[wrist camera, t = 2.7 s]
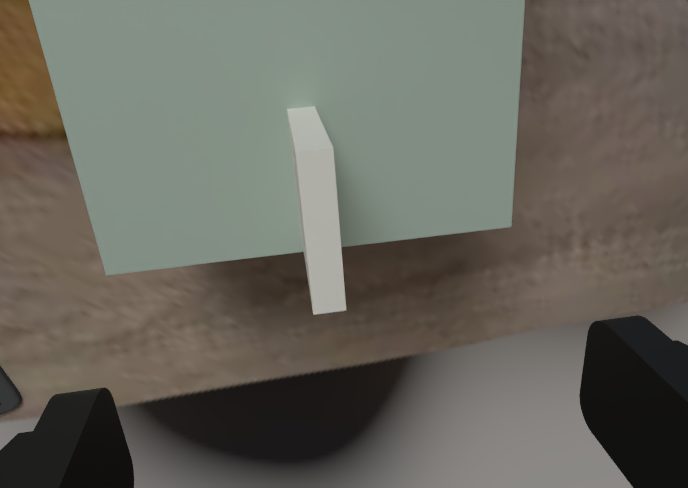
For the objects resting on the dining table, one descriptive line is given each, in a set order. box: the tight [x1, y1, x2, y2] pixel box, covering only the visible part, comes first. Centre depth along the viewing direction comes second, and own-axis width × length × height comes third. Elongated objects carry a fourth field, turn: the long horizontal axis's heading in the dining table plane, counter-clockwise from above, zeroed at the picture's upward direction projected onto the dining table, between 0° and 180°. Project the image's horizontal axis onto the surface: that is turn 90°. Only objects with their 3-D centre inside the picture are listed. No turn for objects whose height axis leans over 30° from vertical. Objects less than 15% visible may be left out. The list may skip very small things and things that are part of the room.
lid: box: [29, 0, 525, 315], centre depth 17 cm, size 16×16×7 cm
